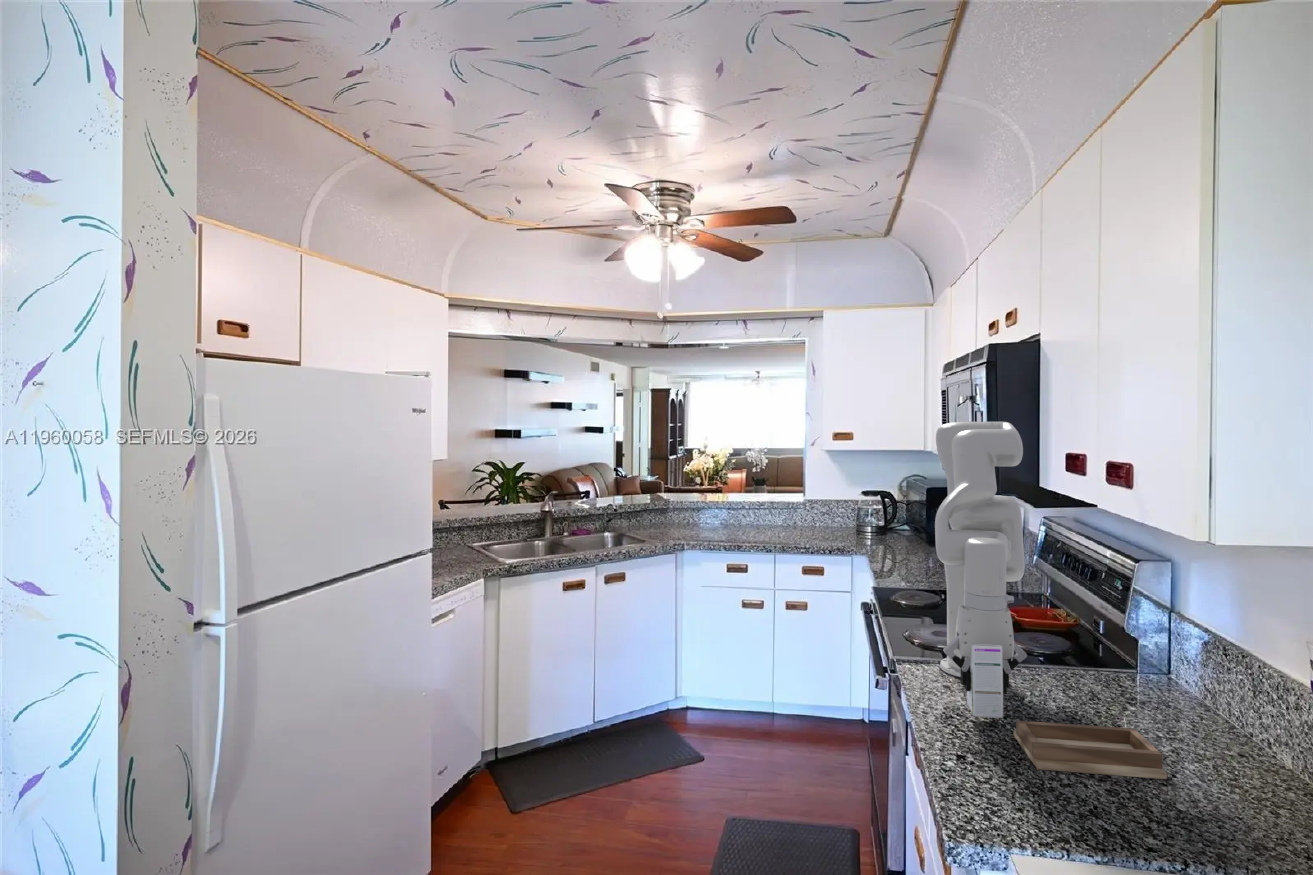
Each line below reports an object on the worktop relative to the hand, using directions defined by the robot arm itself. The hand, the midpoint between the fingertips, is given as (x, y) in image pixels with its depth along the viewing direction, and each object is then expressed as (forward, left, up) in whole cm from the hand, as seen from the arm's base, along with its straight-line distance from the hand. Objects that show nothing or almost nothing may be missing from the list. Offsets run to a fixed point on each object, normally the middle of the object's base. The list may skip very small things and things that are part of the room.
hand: (984, 688), depth 139 cm
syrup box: (0, 0, -5) cm, 5 cm away
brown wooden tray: (+12, +14, -7) cm, 19 cm away
